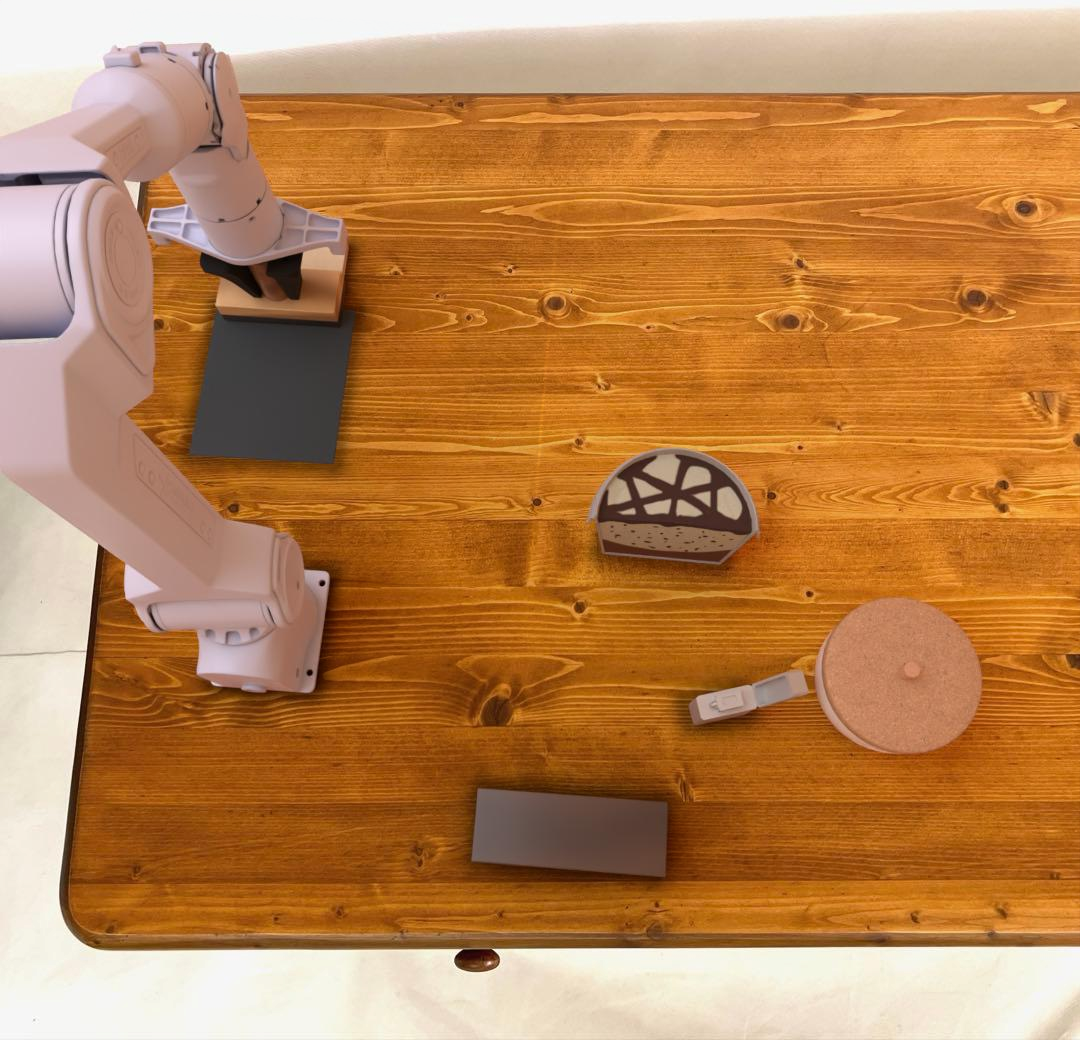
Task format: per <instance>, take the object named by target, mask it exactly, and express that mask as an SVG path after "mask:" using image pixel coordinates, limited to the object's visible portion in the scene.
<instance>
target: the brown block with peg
mask: <svg viewBox="0 0 1080 1040" xmlns="http://www.w3.org/2000/svg"><path fill="white" fill-rule="evenodd" d="M267 264H268V261H266V262H262V263H258V264H253V265H247V266H248V268H249V269H250V271H251V273H252V275H253V276H254V278H255V280H256V282H257V284H258V285H259V287H260V289H261V291H262V297H261V298H254V297H252V296H251V295H249V294H248V293H247V292H245V291H244V290H243V289H241V288H240V287H238V286H237V285H235V284H234V283H232V282H230V281H228V280H226V279H224V278H222V277H219V284H218V289H217V295H216V299H215V304H214V305H215V308H216V309H218V311H219V312H220V314H221V315H222V317H223V318H224V320H231V321H247V322H263V323H279V324H295V325H311V326H327V327H340V325H341V319H342V312H343V310H344V305H345V299H346V291H347V284H346V282H345V278H344V279H343V277H342V274H341V271H333V270H317V269H301V274H302V280H303V281H302V287H301V293H300V299H299V300H291V299H289V298H288V297H287V295H286V293H285V291H284V289H283V287H282V286H281V285H280V284H279V282H278V281H276V280H275V279H274V278H272V277H268V276H267V275H266V270H267Z"/></svg>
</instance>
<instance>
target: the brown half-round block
mask: <svg viewBox="0 0 1080 1040" xmlns="http://www.w3.org/2000/svg"><path fill="white" fill-rule="evenodd" d="M593 520H594V522H595V527H596V528H595V529H596V532H597V535H598V536H597V537H598V541H599V546H600V550H601V554H602V555H610V556H621V557H632V558H643V559H652V560H663V561H664V560H665V561H674V562H683V563H684V562H686V563H696V564H706V565H717V566H718V565H719V566H720V565H721V566H722V564H723V563H725V562H726V561H727V560H728V559H729V558H730V557H731V556H732V555H734V553H736V551H738V550H739V549H740V548H741V547H742V546H743V545H744V544H746V543H747V542H748V541H749V540H750V539H751V538H752V537H754V536H755V534H756V539H757V540H760V539H761V537H760V536H761V534H760V533H761V532H760V520H759V515H758V510H757V506H756V504H755V502H754V498H753V496H752V495H751V493H750V490H749V489H748V488H747V485H746V484H745V483H744V482H743V481H742V479H741V478H740V477H739V475H737V473H735V472H734V471H733V470H732V469H731V468H730V467H729V466H728V465H726V464H725V463H723V462H722V461H720V460H719V459H717V458H715V457H713V456H711V455H709V454H707V453H704V452H701V451H699V450H695V449H690V448H685V447H668V446H667V447H662V448H653V449H650V450H647V451H643V452H640V453H638V454H636V455H634V456H632V457H630V458H628V459H626V460H625V461H624V462H623V463H621V464H620V465H618V466H617V467H616V468H615V469H614V470H613V471H612V472H611V473H610V474H609V475H608V476H607V477H606V478H605V479H604V481H603V482H602V483H601V485H600V486H599V487H598V489H597V491H596V492H595V494H594V496H593V497H592V501H591V503H590V505H589V509H588V513H587V519H586V524H588V525H589V524H590V523H591V522H592V521H593Z"/></svg>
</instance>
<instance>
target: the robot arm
mask: <svg viewBox="0 0 1080 1040" xmlns="http://www.w3.org/2000/svg"><path fill="white" fill-rule="evenodd" d="M102 61H103V64H104V69H101V70H99V71H97V72H94V73H93V74H91V75H89V76H88V77H87V78H86V79H84V80H83V81H82V82H81V83H80V85H79V86H78V87H77V89H76V90H75V93H74V97H73V98H72V103H71V110H70V111H69V112H66V113H63V114H60V115H58V116H55V117H52V118H49V119H46V120H44V121H40V122H39V123H36V124H32V125H30V126H27V127H24V128H21V129H19V130H17V131H13V132H10V133H8V134H4V135H1V136H0V341H10V340H13V341H14V340H34V339H35V340H37V339H38V340H39V339H48V340H44V341H38V342H37V341H36V342H13V343H11V342H10V343H0V472H1V474H3V475H4V476H5V477H6V478H7V479H8V480H9V481H10V482H12V483H13V484H14V485H16V486H17V487H19V488H20V489H22V490H23V491H24V492H25V493H27V494H28V495H30V496H31V497H33V498H34V499H35V500H37V502H38V501H39V502H40V503H41V504H42V505H44V506H45V507H46V508H48V509H49V510H51V511H52V512H53V513H55V514H56V515H57V516H58V517H60V518H62V519H63V520H65V521H66V522H68V524H70V525H72V526H73V527H74V528H76V529H77V530H78V531H80V532H81V533H83V534H84V535H86V536H87V537H88V538H90V539H91V540H92V541H93V542H95V543H97V545H99V546H101V547H102V548H104V549H105V550H106V551H108V552H109V553H110V554H112V555H113V556H114V557H116V558H117V559H119V560H120V561H121V562H123V563H124V564H125V566H124V576H123V577H124V578H123V586H124V587H123V588H124V589H123V590H124V595H125V600H126V601H128V602H129V603H130V604H131V605H133V606H134V608H135V610H136V613H137V615H138V617H139V619H140V620H141V622H143V624H144V626H145V627H146V628H147V629H148V630H149V631H151V632H152V633H156V634H161V633H167V632H169V631H189V630H194V631H195V632H196V635H197V639H198V659H197V664H196V665H197V666H196V676H197V677H199V678H201V679H203V680H207V681H209V682H210V683H211V685H213V686H214V687H221V688H234V689H235V688H236V689H241V690H242V691H245V692H249V693H250V692H251V693H261V694H262V693H263V694H264V693H267V691H274V692H289V693H290V692H291V693H301V694H302V693H304V694H310V693H312V692H314V690H315V689H316V684H317V676H318V669H319V662H320V654H321V647H322V641H323V634H324V626H325V619H326V612H327V604H328V597H329V591H330V583H331V576H330V575H331V574H330V573H329V572H328V571H325V570H316V569H305V564H304V558H303V553H302V549H301V546H300V544H299V543H298V541H297V540H295V539H294V538H293V536H292V535H291V534H290V533H289V532H287V531H283V532H282V531H281V532H277V531H276V530H275V528H272V527H269V526H264V525H259V524H254V523H248V522H243V521H238V520H232V519H227V518H225V517H223V516H222V514H221V513H219V511H218V510H217V509H216V508H215V507H214V505H212V504H211V502H210V501H208V500H207V498H205V497H204V495H203V494H202V493H201V492H200V491H199V490H198V489H197V488H196V487H195V486H194V484H192V482H190V480H189V479H188V478H187V477H186V476H185V475H184V474H183V473H182V472H181V471H180V470H179V469H178V468H177V466H176V465H175V464H174V463H173V462H172V461H171V460H170V459H169V458H168V457H167V455H165V454H164V452H162V451H161V449H160V448H159V447H158V445H156V444H155V443H154V442H153V441H152V440H151V439H150V438H149V437H148V435H146V434H145V432H144V431H143V430H142V428H140V427H139V426H138V425H137V424H136V423H135V422H134V421H133V420H132V419H131V417H130V416H129V415H128V414H127V413H128V412H130V411H131V410H132V409H133V408H134V407H135V408H136V406H138V405H139V404H140V403H142V402H143V401H145V400H146V399H147V398H149V397H150V396H151V395H152V394H153V393H154V390H155V386H154V385H155V384H154V383H155V382H154V369H155V366H156V343H155V342H156V341H155V340H156V339H155V318H154V286H155V283H154V282H155V275H154V262H153V254H152V250H151V245H150V241H149V238H148V234H149V236H150V237H151V239H152V240H153V241H154V243H155V244H156V245H157V246H170V245H171V243H172V241H174V242H176V243H179V244H181V245H183V246H186V247H189V248H191V249H194V250H196V251H199V252H200V256H199V266H200V268H201V270H202V271H203V273H204V274H209V275H213V276H216V277H219V278H221V277H222V278H224V279H226V280H228V281H230V282H232V283H234V284H235V285H237V286H238V287H240V288H241V289H243V290H244V291H245V292H247V293H248V294H249V295H251V296H252V297H254V298H261V297H262V291H261V289H260V287H259V285H258V284H257V282H256V280H255V278H254V276H253V275H252V273H251V271H250V269H249V268H248V266H247V265H253V264H258V263H262V262H266V261H268V264H267V270H266V275H267V276H268V277H272V278H274V279H275V280H276V281H278V282H279V284H280V285H281V286H282V287H283V289H284V291H285V293H286V295H287V297H288V298H289V299H291V300H299V299H300V293H301V287H302V281H303V280H302V274H301V263H302V257H303V252H305V251H309V250H313V249H317V248H322V247H328V248H329V249H330V251H331V253H332V254H334V255H345V250H346V244H348V238H349V237H348V236H349V232H348V229H347V226H346V223H345V221H344V218H341V217H333V216H328V215H324V214H321V213H318V212H316V211H313V210H311V209H307V208H305V207H302V206H300V205H298V204H296V203H293V202H291V201H287V200H285V199H283V198H280V197H277V196H275V194H274V192H273V190H272V188H271V185H270V183H269V181H268V179H267V177H266V174H265V172H264V170H263V168H262V166H261V164H260V161H259V159H258V157H257V154H256V152H255V150H254V148H253V146H252V143H251V141H250V139H249V122H248V119H247V113H246V111H245V108H244V106H243V103H242V100H241V97H240V91H239V86H238V81H237V77H236V73H235V69H234V66H233V62H232V59H231V57H230V55H229V54H228V53H225V52H224V51H218V52H217V51H216V50H215V48H214V47H213V48H212V44H210V43H209V42H194V43H193V42H192V43H164V42H163V41H143V42H141V43H139V44H138V45H128V46H126V47H124V48H122V47H118V46H117V45H112V46H111V48H110V50H109V52H107V53H105V54H103V56H102ZM167 173H169V176H170V177H171V179H172V181H173V182H174V184H175V185H176V187H177V189H178V191H179V193H180V194H181V196H182V198H183V199H184V200H185V202H186V203H184V204H180V205H174V206H169V207H152V208H151V209H150V213H149V218H148V224H147V228H146V227H145V225H144V222H143V220H142V217H141V215H140V213H139V211H138V209H137V208H136V206H135V204H134V201H133V198H132V195H131V193H130V191H129V189H128V187H127V185H126V182H130V183H147V182H150V181H155V180H157V179H159V178H161V177H162V176H164V175H165V174H167ZM322 582H324V583H325V584H324V585H323V586H321V583H322ZM309 671H311V672H312V674H311V675H308V672H309Z"/></svg>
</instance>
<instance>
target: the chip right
mask: <svg viewBox="0 0 1080 1040" xmlns="http://www.w3.org/2000/svg"><path fill="white" fill-rule="evenodd" d="M349 248H350V247H349V245H348V243H347V244H346V250H345V255H334V254H332V253H331V251H330V249H329V248H328V247H322V248H317V249H313V250H309V251H305V252H303V257H302V263H301V269H317V270H333V271H341V274H342V277H343V279H344V280H345V275H346V268H347V263H348V262H347V261H348V256H349Z"/></svg>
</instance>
